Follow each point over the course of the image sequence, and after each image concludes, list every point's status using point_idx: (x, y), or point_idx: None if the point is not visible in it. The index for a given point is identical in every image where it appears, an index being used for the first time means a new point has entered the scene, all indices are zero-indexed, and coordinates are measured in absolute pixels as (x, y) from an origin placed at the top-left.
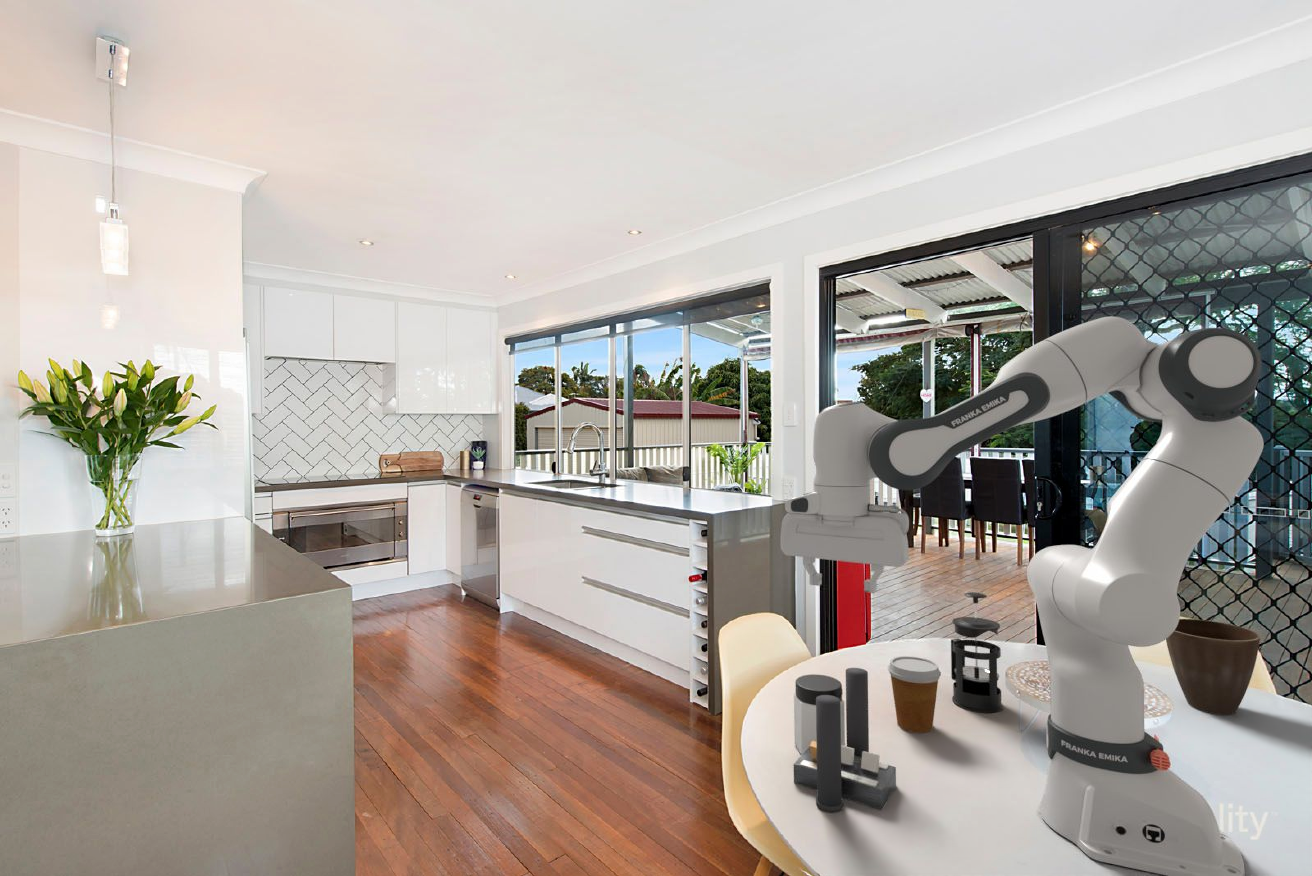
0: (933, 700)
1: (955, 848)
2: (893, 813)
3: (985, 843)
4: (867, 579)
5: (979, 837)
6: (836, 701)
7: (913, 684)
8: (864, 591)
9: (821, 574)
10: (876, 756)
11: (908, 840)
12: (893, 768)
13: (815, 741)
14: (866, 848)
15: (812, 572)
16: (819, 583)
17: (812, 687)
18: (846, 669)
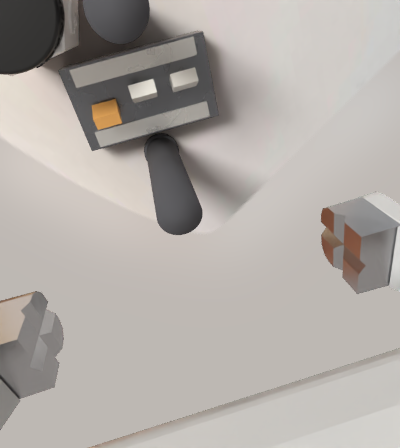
0: None
1: (301, 114)
2: (225, 103)
3: (325, 78)
4: (364, 245)
5: (318, 71)
6: (195, 210)
7: None
8: (323, 249)
9: (20, 337)
10: (196, 81)
11: (258, 140)
12: (202, 38)
13: (99, 117)
14: (232, 184)
15: (6, 412)
16: (43, 312)
17: (11, 53)
18: (86, 14)
